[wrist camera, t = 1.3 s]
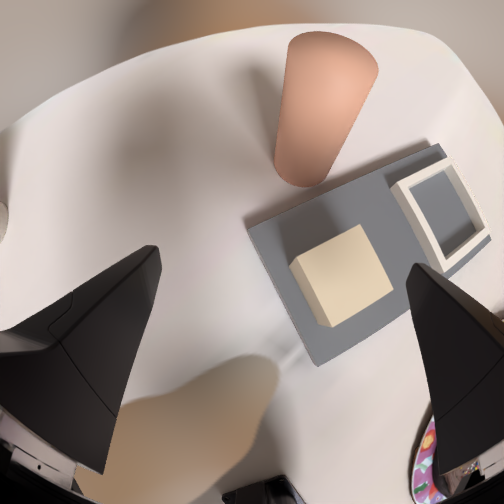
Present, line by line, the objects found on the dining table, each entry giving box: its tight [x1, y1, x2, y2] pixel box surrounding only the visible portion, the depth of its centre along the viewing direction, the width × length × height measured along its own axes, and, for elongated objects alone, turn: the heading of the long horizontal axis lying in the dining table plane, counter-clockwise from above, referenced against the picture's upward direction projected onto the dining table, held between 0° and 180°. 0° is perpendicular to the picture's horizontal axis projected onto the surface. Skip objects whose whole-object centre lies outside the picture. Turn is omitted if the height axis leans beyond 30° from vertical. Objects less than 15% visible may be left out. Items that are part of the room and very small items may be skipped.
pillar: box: [274, 31, 378, 187], centre depth 19 cm, size 5×5×13 cm
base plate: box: [248, 143, 492, 367], centre depth 21 cm, size 12×23×6 cm, turn 117°
